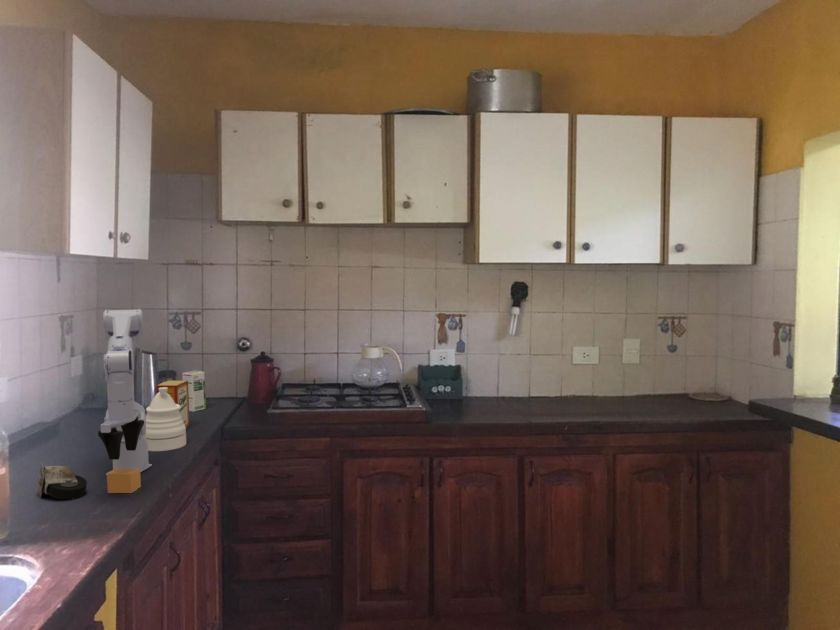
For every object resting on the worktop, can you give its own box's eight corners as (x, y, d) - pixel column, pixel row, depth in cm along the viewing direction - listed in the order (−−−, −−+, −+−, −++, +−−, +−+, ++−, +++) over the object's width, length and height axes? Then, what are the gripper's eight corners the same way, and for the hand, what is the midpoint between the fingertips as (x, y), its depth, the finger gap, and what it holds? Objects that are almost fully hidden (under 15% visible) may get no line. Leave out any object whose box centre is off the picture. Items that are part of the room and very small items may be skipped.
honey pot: (190, 447, 205) (188, 388, 203) (145, 453, 198) (142, 392, 197) (181, 437, 216) (179, 381, 214) (138, 443, 209) (136, 385, 208)
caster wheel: (86, 506, 163) (39, 509, 157) (80, 484, 172) (35, 486, 166) (90, 481, 161) (43, 483, 156) (84, 460, 170) (39, 461, 165)
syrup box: (193, 412, 252) (192, 373, 250) (183, 410, 255) (182, 372, 254) (206, 409, 256) (205, 371, 255) (196, 407, 260) (194, 369, 258)
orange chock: (116, 487, 169) (116, 467, 168) (141, 488, 168) (140, 468, 168) (106, 493, 164) (105, 473, 164) (131, 494, 164) (130, 474, 163)
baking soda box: (170, 425, 231) (169, 379, 230) (189, 425, 231) (187, 379, 229) (158, 432, 222) (156, 384, 220) (178, 432, 221) (176, 384, 220)
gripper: (121, 393, 172) (123, 446, 173) (87, 405, 157) (90, 462, 159) (147, 393, 171) (149, 446, 172) (116, 406, 157) (118, 463, 158)
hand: (123, 454), depth 165 cm, fingers open, 7 cm apart
